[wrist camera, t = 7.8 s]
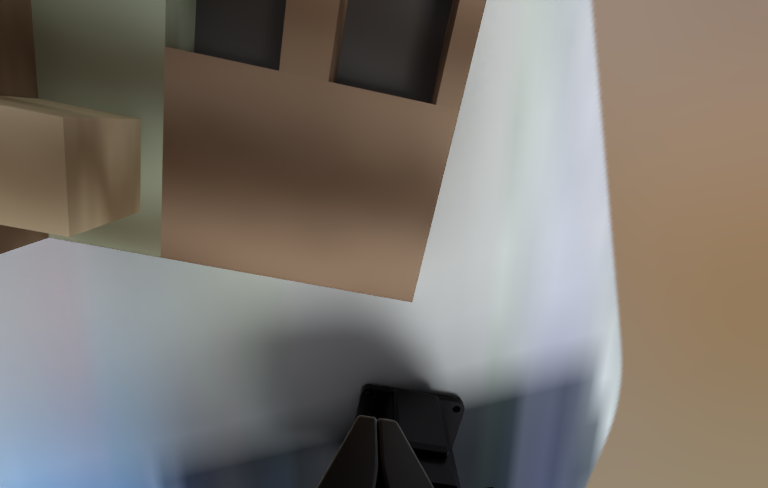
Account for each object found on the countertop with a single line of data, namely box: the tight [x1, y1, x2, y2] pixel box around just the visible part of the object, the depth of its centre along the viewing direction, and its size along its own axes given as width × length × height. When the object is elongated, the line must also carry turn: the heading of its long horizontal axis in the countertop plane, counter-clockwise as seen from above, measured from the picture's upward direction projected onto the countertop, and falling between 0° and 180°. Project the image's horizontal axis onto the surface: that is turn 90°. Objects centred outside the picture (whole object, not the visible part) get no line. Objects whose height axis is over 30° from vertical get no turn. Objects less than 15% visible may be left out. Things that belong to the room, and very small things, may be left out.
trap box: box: [0, 0, 486, 302], centre depth 15 cm, size 15×18×6 cm
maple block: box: [0, 96, 141, 237], centre depth 14 cm, size 4×4×4 cm
